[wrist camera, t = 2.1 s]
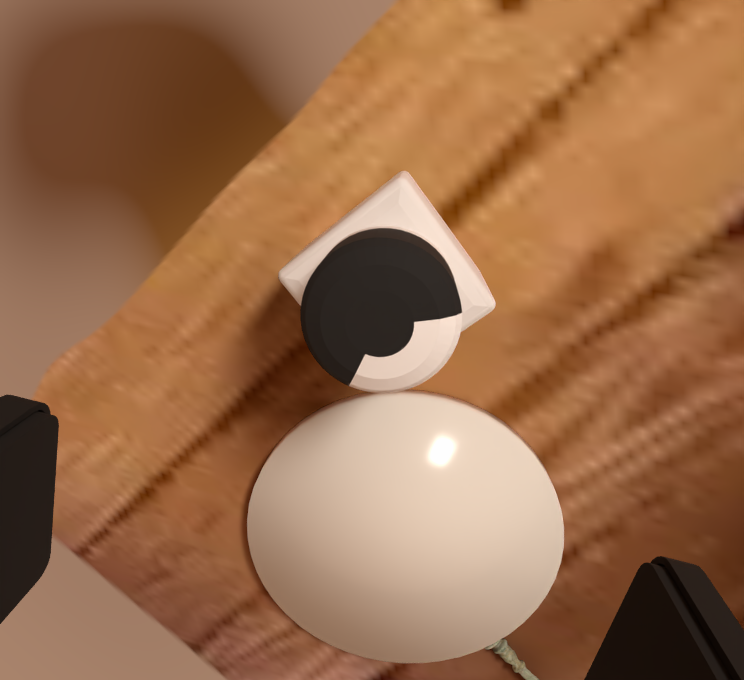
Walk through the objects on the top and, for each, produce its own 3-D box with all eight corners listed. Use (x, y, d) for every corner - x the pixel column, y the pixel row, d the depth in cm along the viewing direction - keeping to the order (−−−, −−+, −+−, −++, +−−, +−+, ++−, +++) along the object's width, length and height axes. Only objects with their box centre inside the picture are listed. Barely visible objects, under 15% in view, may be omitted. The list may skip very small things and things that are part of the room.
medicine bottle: (302, 248, 32) (241, 304, 21) (405, 167, 30) (399, 180, 19) (380, 345, 34) (362, 447, 22) (482, 273, 32) (519, 344, 21)
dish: (606, 434, 34) (613, 444, 33) (503, 677, 41) (506, 692, 40) (281, 353, 34) (277, 360, 33) (230, 610, 41) (225, 623, 40)
